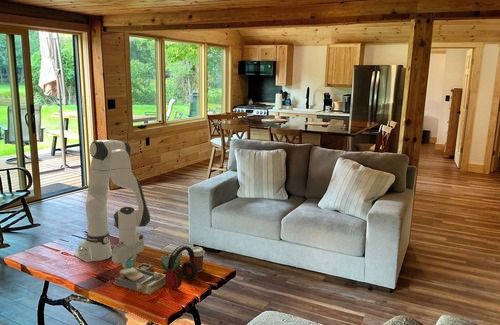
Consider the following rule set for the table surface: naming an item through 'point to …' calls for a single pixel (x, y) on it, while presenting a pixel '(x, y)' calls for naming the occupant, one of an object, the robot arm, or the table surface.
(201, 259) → the coffee cup
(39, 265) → the table surface
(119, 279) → the grey railed platform
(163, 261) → the food container
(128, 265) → the ball
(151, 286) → the tray
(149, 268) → the brown square wooden tray
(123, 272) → the ramp
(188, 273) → the headphones
